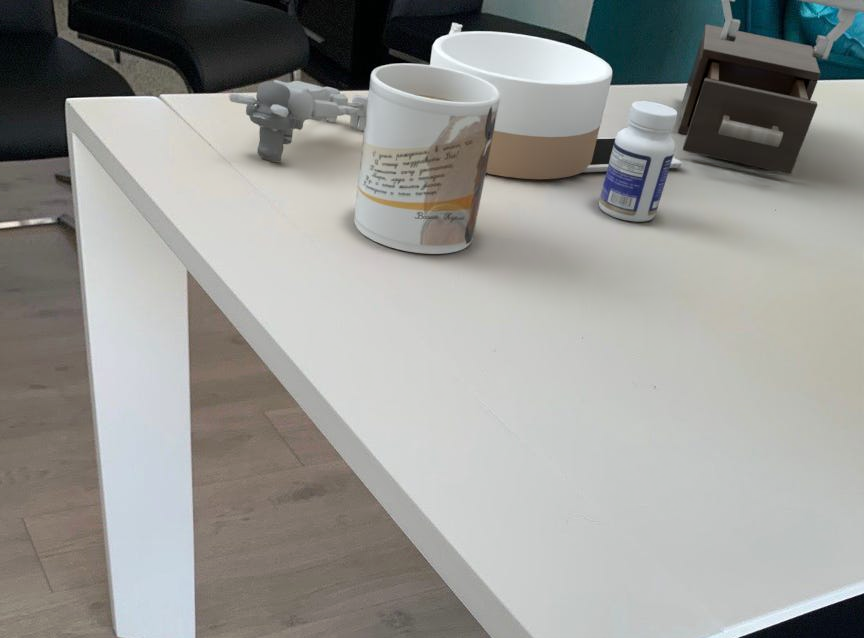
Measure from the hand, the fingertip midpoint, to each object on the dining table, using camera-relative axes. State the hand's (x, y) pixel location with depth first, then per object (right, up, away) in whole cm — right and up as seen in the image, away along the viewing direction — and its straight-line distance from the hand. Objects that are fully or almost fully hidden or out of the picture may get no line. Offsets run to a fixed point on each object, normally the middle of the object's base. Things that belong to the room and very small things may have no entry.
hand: (772, 48), depth 106 cm
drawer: (-2, -8, +5) cm, 10 cm away
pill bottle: (-18, -22, -12) cm, 31 cm away
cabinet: (+1, -1, +15) cm, 15 cm away
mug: (-37, -27, -21) cm, 51 cm away
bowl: (-28, -12, -3) cm, 31 cm away
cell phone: (-18, -12, -1) cm, 22 cm away
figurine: (-47, -15, -10) cm, 51 cm away
